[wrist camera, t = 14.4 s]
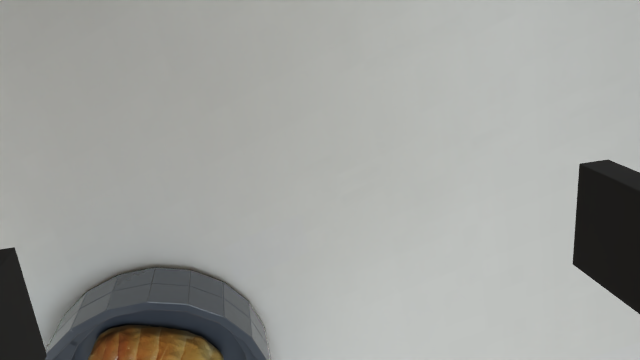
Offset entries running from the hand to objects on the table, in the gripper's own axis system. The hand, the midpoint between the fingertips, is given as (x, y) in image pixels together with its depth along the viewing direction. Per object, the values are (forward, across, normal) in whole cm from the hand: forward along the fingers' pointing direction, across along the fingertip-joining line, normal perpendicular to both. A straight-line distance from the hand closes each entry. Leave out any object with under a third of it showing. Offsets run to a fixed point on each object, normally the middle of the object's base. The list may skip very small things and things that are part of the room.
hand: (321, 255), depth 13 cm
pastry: (+26, -10, -20) cm, 34 cm away
